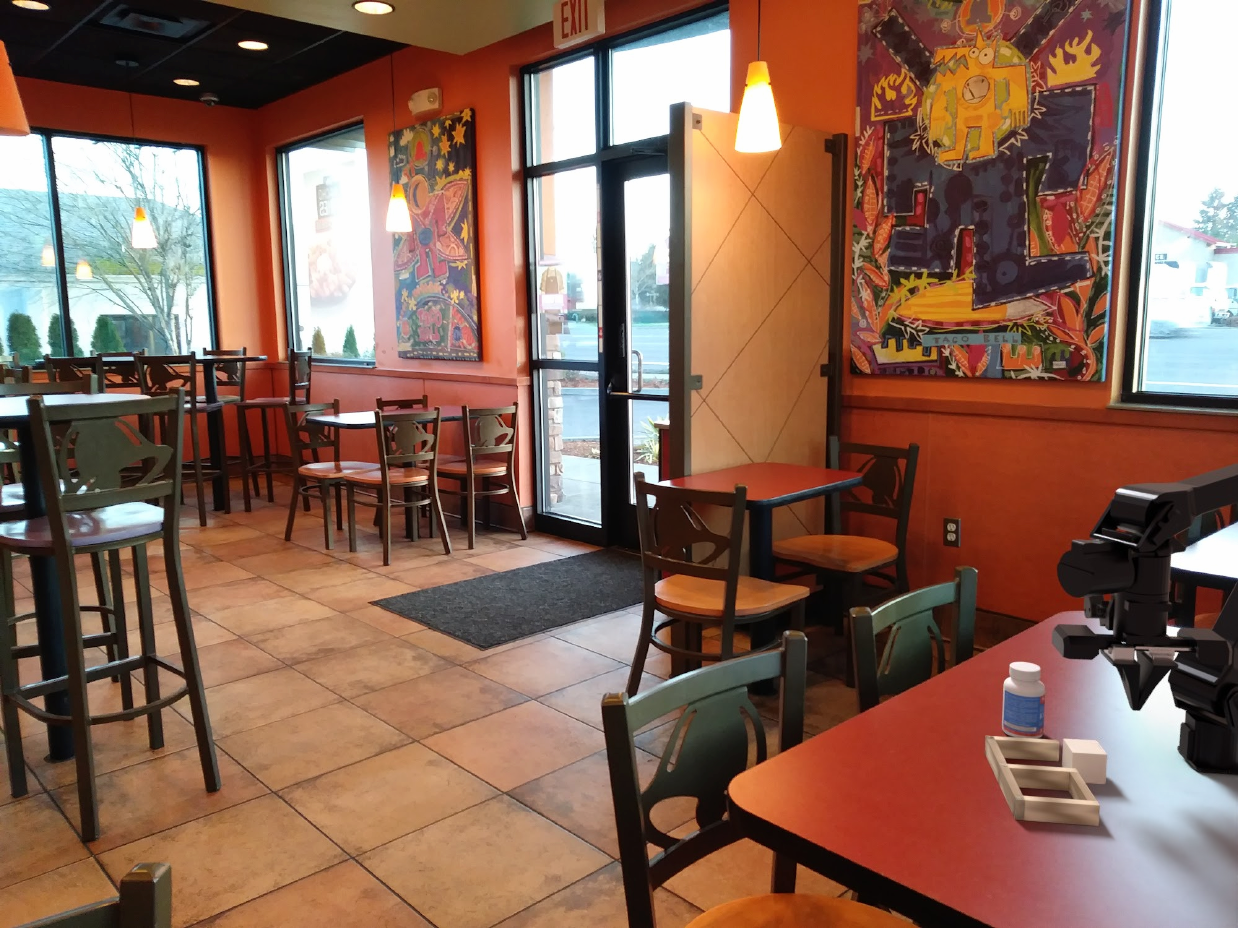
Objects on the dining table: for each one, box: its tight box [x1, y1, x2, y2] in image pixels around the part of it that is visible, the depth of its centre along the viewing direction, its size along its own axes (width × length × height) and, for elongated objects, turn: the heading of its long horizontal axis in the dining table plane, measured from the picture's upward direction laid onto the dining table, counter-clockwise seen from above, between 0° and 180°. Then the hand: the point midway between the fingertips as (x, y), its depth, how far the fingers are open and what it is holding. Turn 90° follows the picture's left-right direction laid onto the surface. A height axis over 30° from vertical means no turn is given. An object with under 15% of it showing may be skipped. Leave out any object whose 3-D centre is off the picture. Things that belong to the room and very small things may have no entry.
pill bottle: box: [1001, 661, 1046, 739], centre depth 126 cm, size 6×5×10 cm
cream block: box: [1061, 738, 1108, 785], centre depth 114 cm, size 4×4×4 cm
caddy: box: [984, 735, 1101, 827], centre depth 111 cm, size 9×17×2 cm, turn 169°
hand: (1135, 709), depth 112 cm, fingers closed
